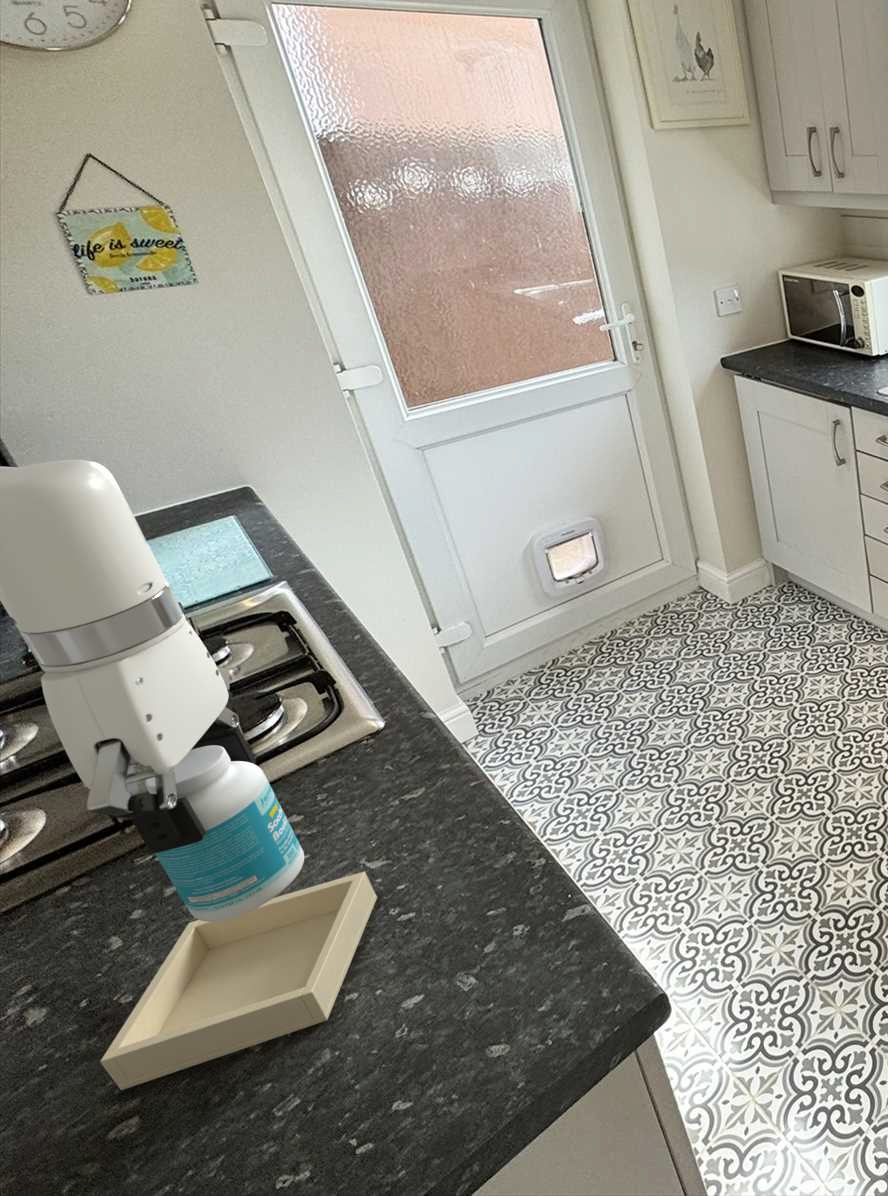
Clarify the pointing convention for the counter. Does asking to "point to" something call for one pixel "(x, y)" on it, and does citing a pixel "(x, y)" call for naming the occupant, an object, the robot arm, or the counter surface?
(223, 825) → the pill bottle
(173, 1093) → the counter surface
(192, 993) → the tray
